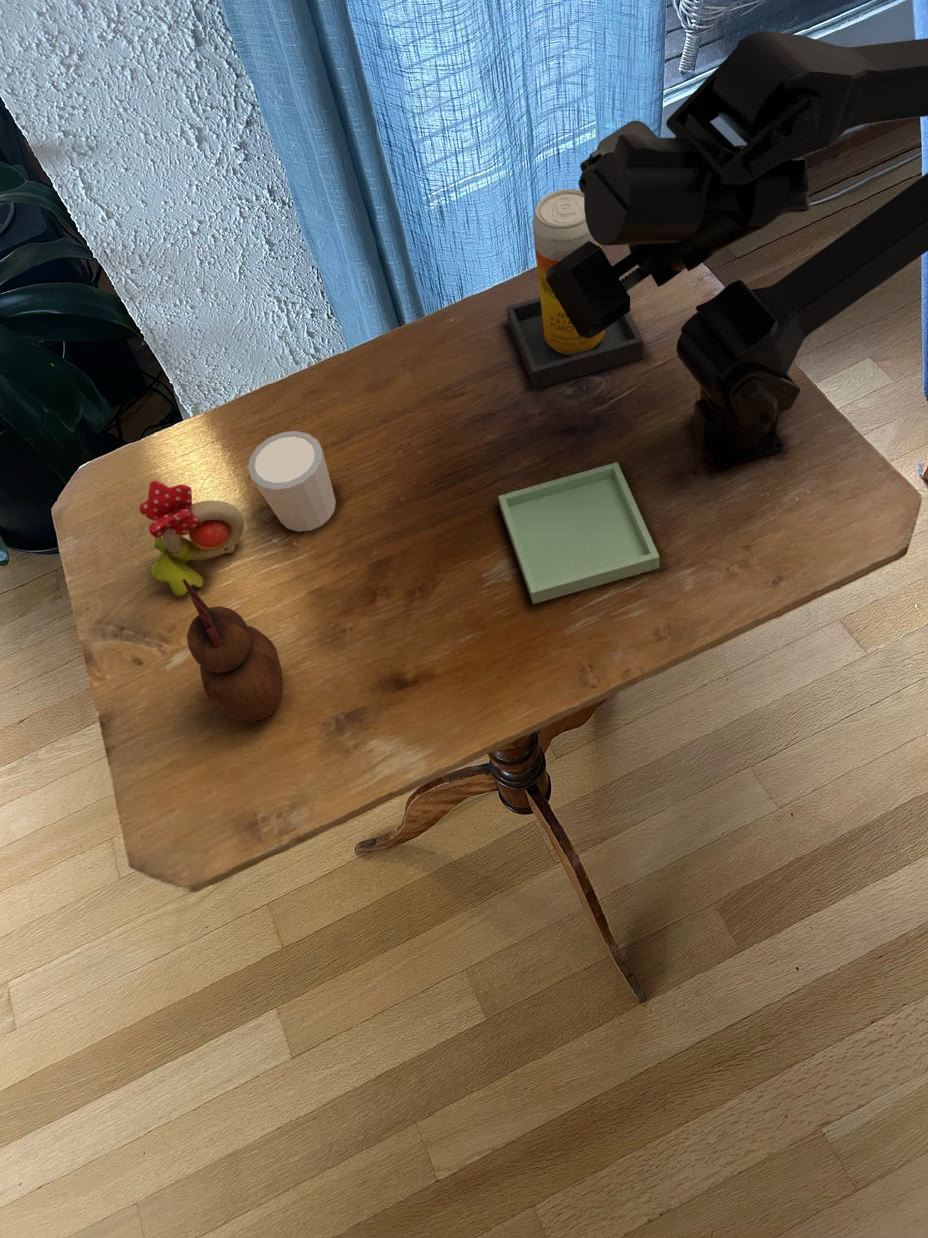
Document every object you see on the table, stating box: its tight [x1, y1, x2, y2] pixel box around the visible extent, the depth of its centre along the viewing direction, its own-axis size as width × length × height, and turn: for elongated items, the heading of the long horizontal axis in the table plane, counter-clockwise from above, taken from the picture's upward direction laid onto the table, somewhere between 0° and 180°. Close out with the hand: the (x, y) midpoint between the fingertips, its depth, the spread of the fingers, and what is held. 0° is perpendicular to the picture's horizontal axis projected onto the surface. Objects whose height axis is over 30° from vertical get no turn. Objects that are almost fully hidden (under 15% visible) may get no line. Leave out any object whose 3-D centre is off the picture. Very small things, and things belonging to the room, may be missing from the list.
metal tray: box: [505, 296, 644, 390], centre depth 100 cm, size 11×10×2 cm
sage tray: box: [497, 462, 660, 605], centre depth 87 cm, size 11×11×2 cm
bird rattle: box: [139, 480, 245, 597], centre depth 88 cm, size 6×11×9 cm
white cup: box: [247, 430, 336, 533], centre depth 91 cm, size 7×7×7 cm
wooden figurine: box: [182, 579, 284, 722], centre depth 77 cm, size 7×6×15 cm
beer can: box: [532, 188, 605, 355], centre depth 94 cm, size 6×6×15 cm
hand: (601, 275), depth 86 cm, fingers open, 9 cm apart
